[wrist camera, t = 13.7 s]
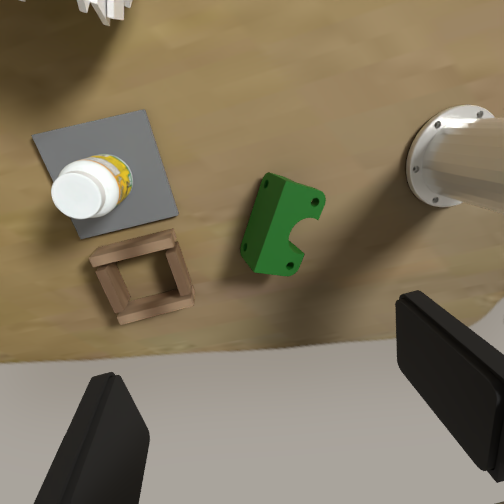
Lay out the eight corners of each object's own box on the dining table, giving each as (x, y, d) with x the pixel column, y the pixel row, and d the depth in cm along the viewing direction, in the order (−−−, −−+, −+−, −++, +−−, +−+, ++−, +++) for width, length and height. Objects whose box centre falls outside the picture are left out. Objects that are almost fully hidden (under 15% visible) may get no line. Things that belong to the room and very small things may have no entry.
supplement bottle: (99, 143, 33) (61, 149, 25) (143, 174, 35) (122, 190, 26) (75, 182, 35) (29, 202, 26) (118, 210, 36) (90, 238, 28)
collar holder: (173, 228, 39) (170, 237, 36) (194, 292, 43) (194, 305, 40) (98, 247, 39) (88, 258, 35) (126, 309, 42) (120, 324, 39)
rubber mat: (145, 109, 34) (143, 109, 33) (178, 213, 38) (178, 215, 38) (35, 135, 33) (31, 135, 32) (82, 237, 38) (80, 239, 37)
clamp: (270, 236, 46) (288, 285, 40) (234, 229, 43) (247, 281, 37) (315, 170, 39) (344, 218, 33) (274, 156, 36) (298, 207, 30)
